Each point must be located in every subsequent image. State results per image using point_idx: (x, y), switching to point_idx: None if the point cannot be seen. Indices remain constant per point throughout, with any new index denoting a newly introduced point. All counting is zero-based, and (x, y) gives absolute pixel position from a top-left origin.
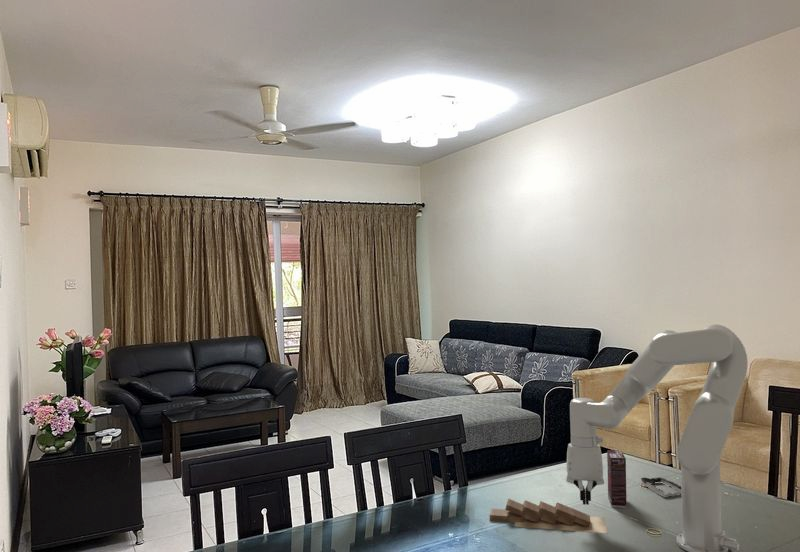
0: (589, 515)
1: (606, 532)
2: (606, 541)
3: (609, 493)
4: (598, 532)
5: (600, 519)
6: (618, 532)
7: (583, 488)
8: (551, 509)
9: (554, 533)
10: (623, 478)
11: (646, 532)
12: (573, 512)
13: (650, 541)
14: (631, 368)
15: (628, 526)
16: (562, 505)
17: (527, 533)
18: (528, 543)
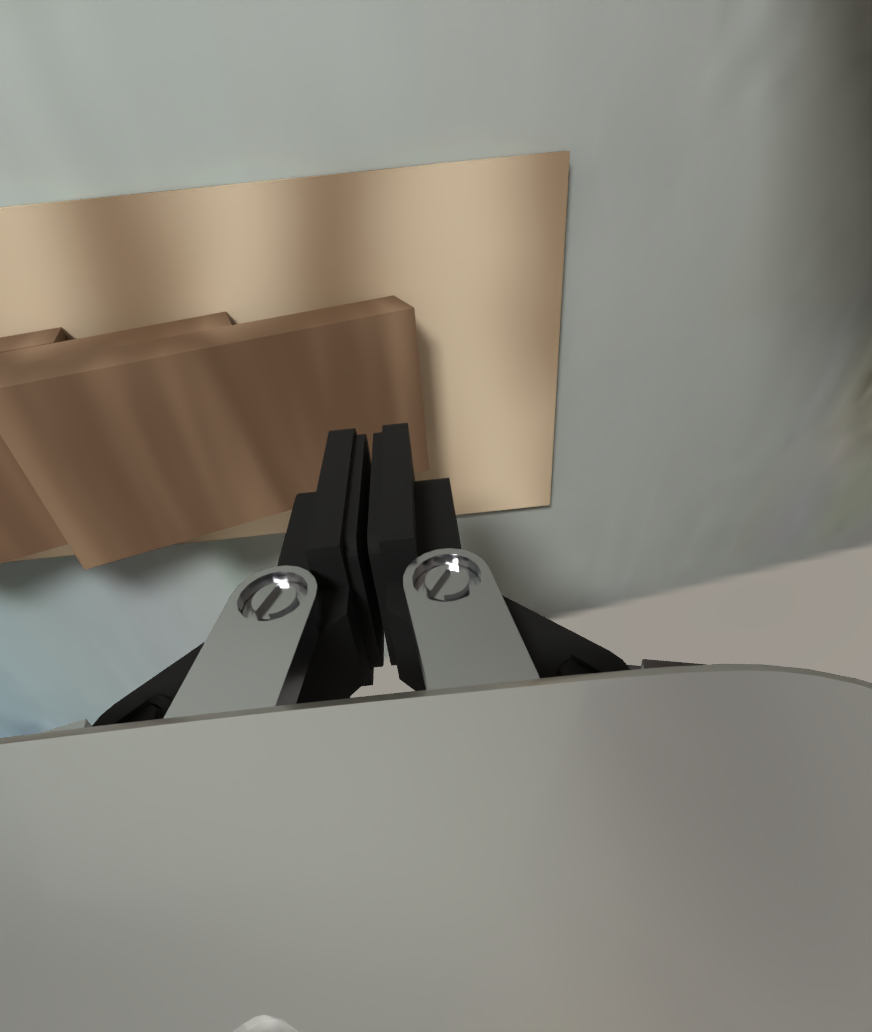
0: (411, 311)
1: (544, 497)
2: (527, 585)
3: None
4: (485, 510)
5: (521, 230)
6: (636, 442)
7: (349, 684)
8: (10, 493)
9: (183, 574)
10: None
11: (862, 383)
12: (252, 449)
13: (812, 517)
14: None
15: (761, 296)
16: (82, 409)
17: (14, 618)
18: (97, 707)
